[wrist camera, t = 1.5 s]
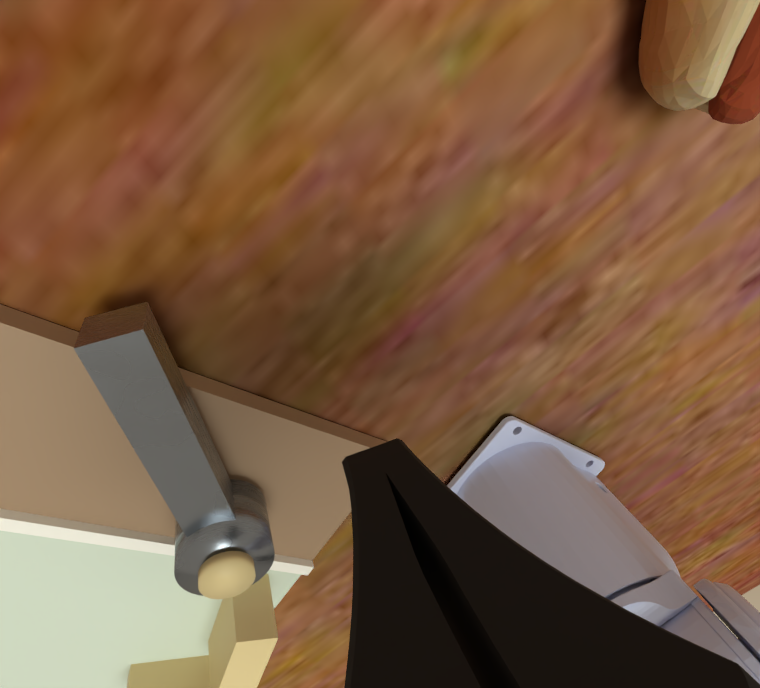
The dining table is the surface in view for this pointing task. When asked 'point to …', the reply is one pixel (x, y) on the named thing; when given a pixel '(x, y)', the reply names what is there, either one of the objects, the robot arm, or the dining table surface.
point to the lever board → (142, 528)
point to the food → (703, 56)
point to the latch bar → (173, 442)
